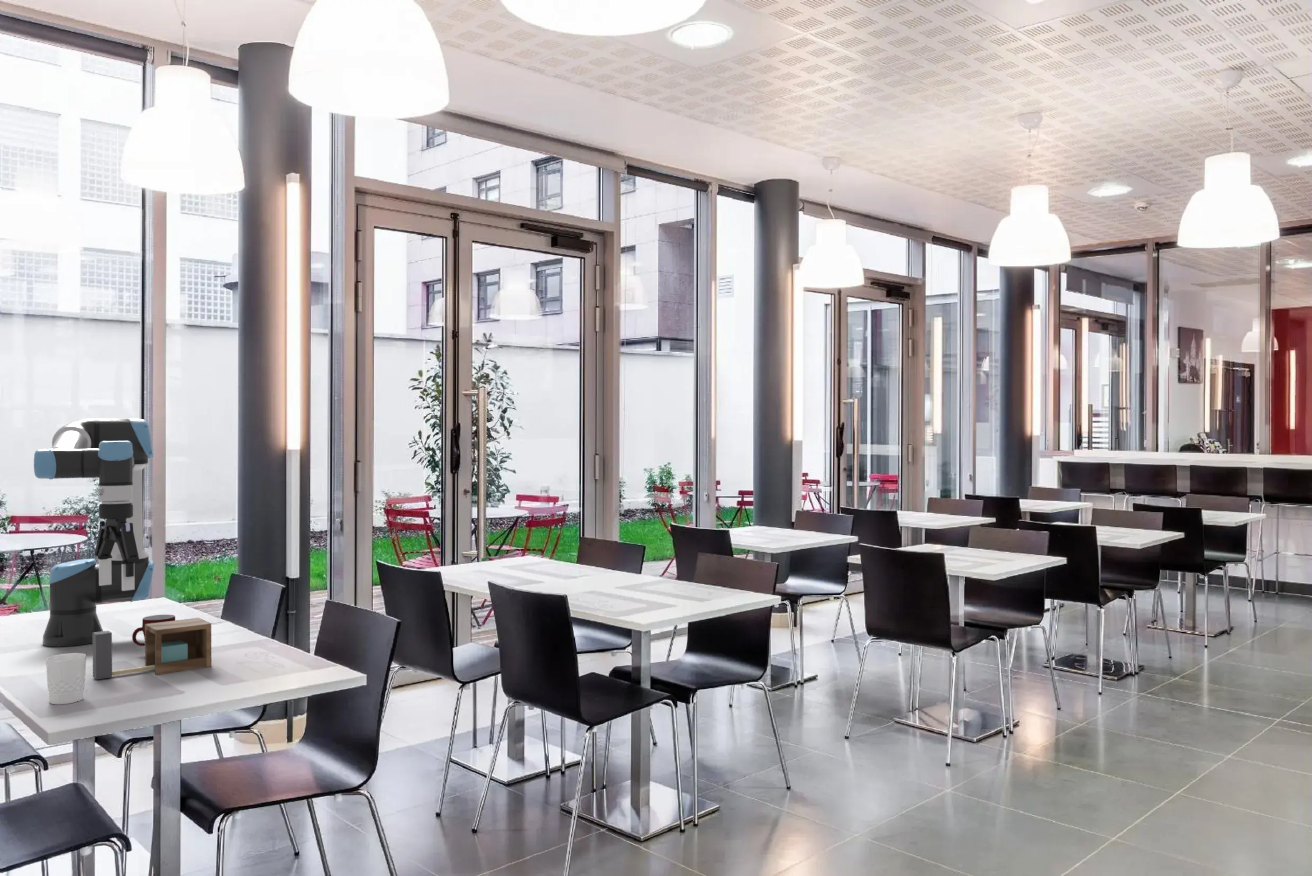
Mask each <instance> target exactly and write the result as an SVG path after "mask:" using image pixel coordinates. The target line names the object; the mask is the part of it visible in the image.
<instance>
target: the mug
mask: <svg viewBox="0 0 1312 876" xmlns="http://www.w3.org/2000/svg"><path fill="white" fill-rule="evenodd" d="M175 620H176V615H174V614H155V615H154V614H153V615H149V616H144V617H143V618H142V624H141V627H138V628H136V629H135V630H134V631H133V633H132V634H131V638H132V642H133V644H135V645H137V646H139V647H145V642H139V641H138V640H137V635H138V633H139V632H142V634H143V637H144V640H145V624H150V623H159V622H167V621H175Z"/></svg>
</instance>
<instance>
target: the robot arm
mask: <svg viewBox="0 0 1312 876" xmlns="http://www.w3.org/2000/svg"><path fill="white" fill-rule="evenodd" d="M33 455H34V456H33V473H34V476H35V477H36V478H37V479H41V480H42V479H47V480H54V479H55V480H56V479H97V478H98V480H99V481H98V489H97V490H96V492H97V494H98V501H99V502H101V503H100V504H99V505H98V517H99V519H101V520H100V521H99V529H98V534H97V535H98V536H97V539H96V540H97V541H96V545H95V550H94V556H95V557H97V559H98V563H97V560H96V558H83V559H75V560H72V561H66V562H63V563H58V564H56V565H54V566H53V567H51V569H50V572H49V582H48V584H49V618H48V621H47V625H46V627H45V629H44V632H43V635H42V644H43V646H47V647H73V646H81V645H88V644H93V632H101V631H104V629H103V627H102V624H101V622H100V619H99V616H98V614H97V604H108V603H121V602H130V603H132V602H136V601H144V600H147V599H148V598H149V597H150V594H151V588H152V581H153V573H154V565H155V562H154V560H151V559H149V558H150V557H149V553H147V552H146V551H145V550H144V543H143V542H144V533H143V532H144V530H143V529H144V525H143V524H144V523H143V522H144V521H143V519H144V518H143V514H144V513H143V512H144V511H143V507H144V506H143V501H144V500H143V470H144V469H145V468H146V467H147V466H148V464H149V459H152V458H153V457H154V449H153V443H152V437H151V430H150V426H149V422H148V421H147V420H145V419H142V418H131V417H129V418H126V417H125V418H122V417H121V418H96V417H95V418H93V417H92V418H83V419H79V420H76V421H73V422H70V423H68V424H66V425H64V426H61V427H60V428H59V429H57V431H56V432H55V433H54V435H53V437H52V441H51V448H43V449H42V448H41V449H40V448H39V449H37V450H35V451H34V454H33Z"/></svg>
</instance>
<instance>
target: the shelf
mask: <svg viewBox="0 0 1312 876" xmlns="http://www.w3.org/2000/svg"><path fill="white" fill-rule="evenodd" d="M177 640H181V641H183V642H185V643H187V644H188V659H186V660H180V661H173V662H166V663H162V644H161V643H162V642H170V641H177ZM144 643H145V646H144V663H145V664H144V666H151V665H155V669H154V674H155V675H156V676H157V675H159V676H160V675H164V674H171V673H178V672H184V671H185V672H186V671H189V670H190V671H191V670H196V669H197V670H198V669H203V668H210V667H211V668H212V666H213V665H212V662H213V661H212V623H211V622H209V621H207V620H205V619H203V618H201V617H195V618H194V617H192V618H184V619H177V620H176V619H175V621H167V622H159V623H150V624H145V639H144Z"/></svg>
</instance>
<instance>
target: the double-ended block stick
mask: <svg viewBox="0 0 1312 876" xmlns="http://www.w3.org/2000/svg"><path fill="white" fill-rule="evenodd" d="M112 634H113V633H112V632H111V631H110V630H103V631H101V632H93V643H92V677H93V678H94V679H95V680H103V679H109V678H113V676H118V675H126V674H132V673H138V672H139V673H141V672H146V671H151V670H153V671H154V670H155V665H151V666H145V665H144V666H137V667H132V668H125V669H118V670H117V669H116V670H113V639H112V638H113V635H112ZM161 644H162V663H166V662H173V661H180V660H186V659H188V644H187V643H185V642H183V641H181V640H177V641H170V642H162V643H161Z"/></svg>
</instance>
